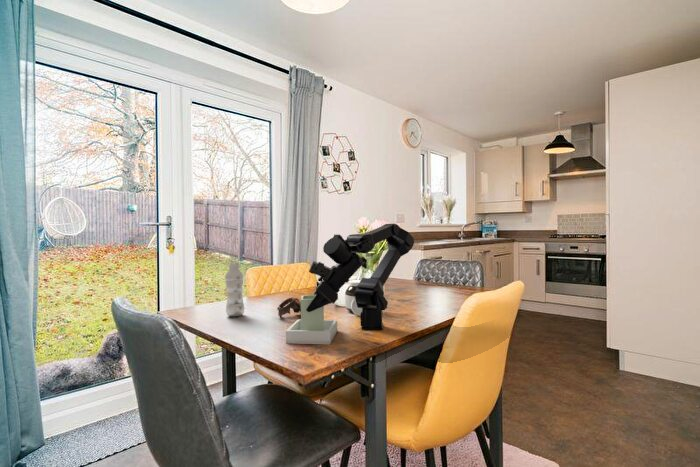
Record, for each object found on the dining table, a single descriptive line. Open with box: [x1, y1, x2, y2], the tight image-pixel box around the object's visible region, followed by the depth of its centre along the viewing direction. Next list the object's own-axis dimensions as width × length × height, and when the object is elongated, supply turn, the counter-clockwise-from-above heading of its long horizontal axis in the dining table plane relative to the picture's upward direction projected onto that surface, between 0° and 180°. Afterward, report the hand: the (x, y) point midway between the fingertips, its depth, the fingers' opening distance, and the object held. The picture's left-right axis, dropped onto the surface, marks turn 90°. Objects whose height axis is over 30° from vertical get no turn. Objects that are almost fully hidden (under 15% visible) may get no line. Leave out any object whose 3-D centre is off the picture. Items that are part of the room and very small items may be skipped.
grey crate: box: [285, 318, 338, 345], centre depth 105 cm, size 13×13×4 cm
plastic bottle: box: [224, 261, 245, 318], centre depth 132 cm, size 6×7×20 cm
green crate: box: [300, 294, 325, 331], centre depth 105 cm, size 6×6×10 cm
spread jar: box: [344, 279, 362, 317], centre depth 135 cm, size 12×11×12 cm
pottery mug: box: [276, 296, 301, 318], centre depth 130 cm, size 12×10×8 cm
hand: (307, 308), depth 105 cm, fingers closed on green crate, 6 cm apart
